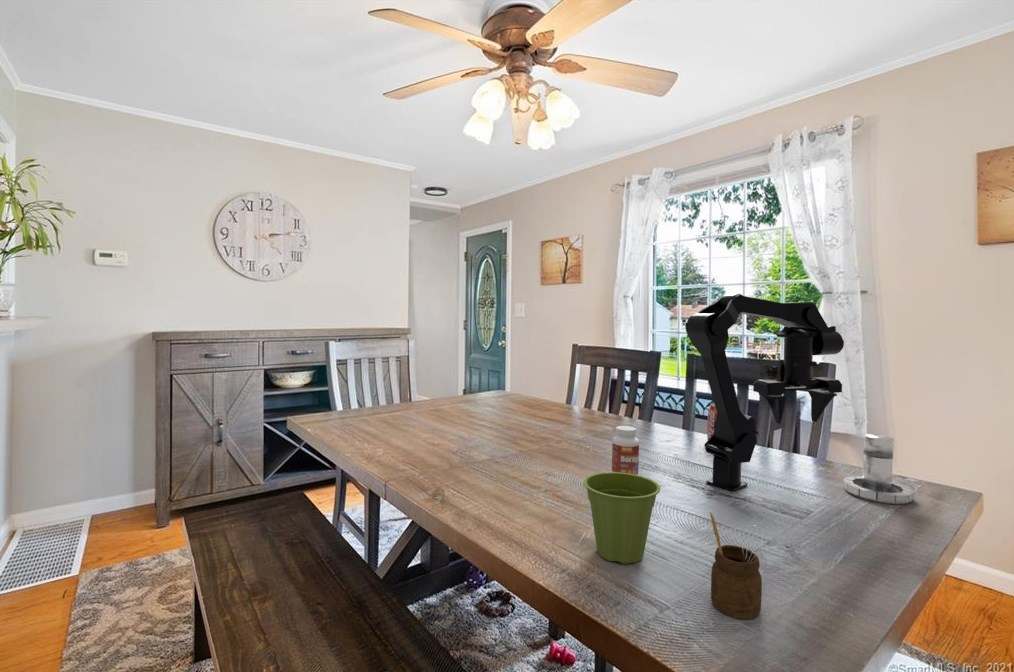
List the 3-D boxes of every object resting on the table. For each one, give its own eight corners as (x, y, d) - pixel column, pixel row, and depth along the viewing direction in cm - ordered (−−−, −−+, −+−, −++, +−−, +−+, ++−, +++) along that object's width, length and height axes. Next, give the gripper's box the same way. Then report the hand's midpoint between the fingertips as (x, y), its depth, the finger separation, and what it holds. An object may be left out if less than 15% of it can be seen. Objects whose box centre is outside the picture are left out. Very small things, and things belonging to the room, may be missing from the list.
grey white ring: (902, 509, 94) (903, 499, 94) (835, 491, 103) (836, 483, 103) (918, 496, 101) (919, 487, 101) (854, 480, 110) (854, 472, 110)
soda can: (730, 450, 135) (731, 408, 134) (704, 446, 139) (705, 405, 138) (735, 445, 140) (737, 404, 140) (710, 441, 145) (711, 401, 144)
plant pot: (671, 552, 76) (673, 482, 76) (636, 582, 67) (638, 504, 67) (605, 529, 84) (607, 466, 84) (567, 553, 75) (568, 483, 75)
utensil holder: (768, 623, 59) (772, 528, 58) (714, 617, 60) (717, 523, 59) (752, 596, 64) (755, 508, 64) (703, 590, 66) (705, 505, 65)
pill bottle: (620, 479, 110) (621, 431, 109) (606, 471, 116) (607, 425, 115) (643, 477, 112) (644, 430, 111) (629, 468, 117) (630, 424, 117)
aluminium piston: (886, 498, 99) (889, 441, 98) (858, 491, 103) (860, 436, 102) (894, 493, 102) (897, 437, 101) (866, 486, 106) (868, 432, 105)
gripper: (808, 351, 120) (806, 412, 121) (739, 354, 118) (738, 416, 119) (845, 356, 109) (842, 423, 110) (770, 359, 107) (768, 427, 108)
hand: (796, 422), depth 112 cm, fingers open, 9 cm apart
